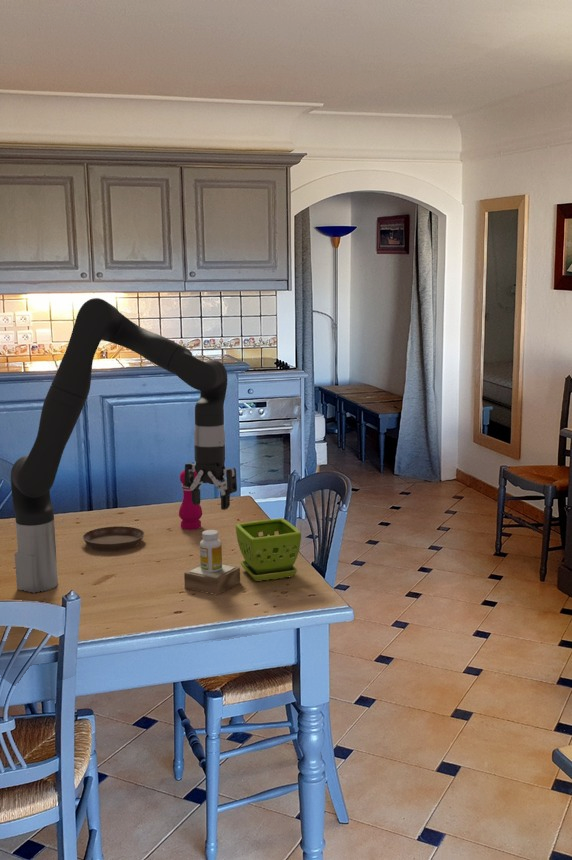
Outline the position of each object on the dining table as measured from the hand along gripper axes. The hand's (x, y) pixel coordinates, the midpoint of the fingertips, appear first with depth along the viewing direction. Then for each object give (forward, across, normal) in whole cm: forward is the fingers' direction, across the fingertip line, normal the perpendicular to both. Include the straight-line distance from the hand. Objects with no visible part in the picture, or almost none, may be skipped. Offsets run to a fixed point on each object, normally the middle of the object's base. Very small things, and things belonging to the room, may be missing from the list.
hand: (210, 506), depth 214 cm
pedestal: (+21, 0, 0) cm, 21 cm away
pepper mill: (+21, -35, +38) cm, 56 cm away
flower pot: (+21, +8, +14) cm, 26 cm away
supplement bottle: (+16, 0, 0) cm, 17 cm away
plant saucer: (+21, -45, +14) cm, 52 cm away
